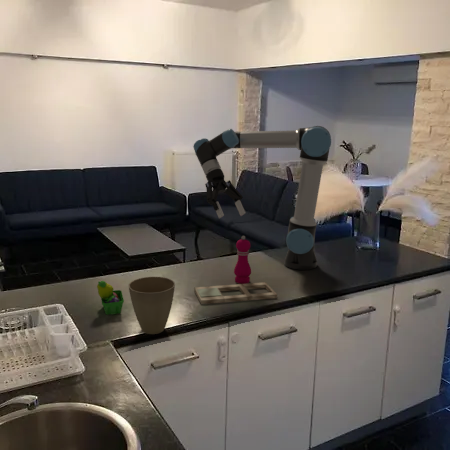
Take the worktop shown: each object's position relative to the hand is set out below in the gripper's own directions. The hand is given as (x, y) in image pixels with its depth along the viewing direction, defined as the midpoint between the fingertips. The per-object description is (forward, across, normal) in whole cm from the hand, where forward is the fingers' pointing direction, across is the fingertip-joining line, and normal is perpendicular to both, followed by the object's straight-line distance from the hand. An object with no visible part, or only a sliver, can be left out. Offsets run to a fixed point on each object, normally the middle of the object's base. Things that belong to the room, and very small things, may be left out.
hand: (232, 215), depth 212 cm
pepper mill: (+26, -2, -11) cm, 28 cm away
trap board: (+31, +12, -5) cm, 34 cm away
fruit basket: (+21, +55, -25) cm, 64 cm away
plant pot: (+36, +55, -6) cm, 66 cm away
